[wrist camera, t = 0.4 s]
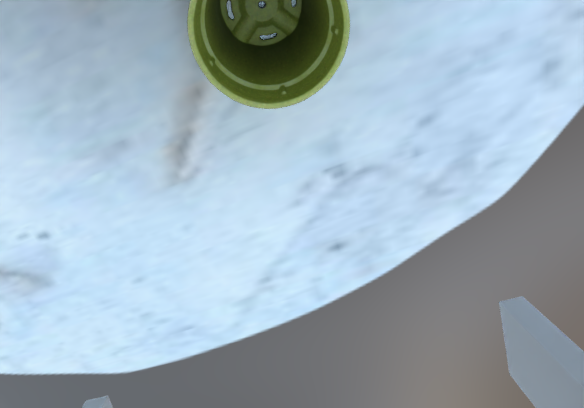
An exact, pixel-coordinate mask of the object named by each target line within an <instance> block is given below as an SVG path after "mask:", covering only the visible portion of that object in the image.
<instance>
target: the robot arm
mask: <svg viewBox="0 0 584 408" xmlns="http://www.w3.org/2000/svg"><path fill="white" fill-rule="evenodd" d="M499 305H500V312H501V319H502V326H503V333H504V339H505V347H506V353H507V361H508V367H509V374H510V375H511V377H512V378H513V379H514V380H515V382H516V383H517V384H518V386H519V387H520V388H521V389H522V391H523V392H524V393H525V395H526V396H527V397H528V398H529V400H530V401H531V402H532V403H533V405H534V406H535V407H536V408H584V351H583V350H582V349H580V348H579V347H578V346H577V345H576V344H575V343H574V342H573V341H572V340H570V339H569V338H568V337H567V336H566V335H565V334H564V333H563V332H562V331H560V330H559V329H558V328H557V327H556V326H555V325H554V324H553V323H551V322H550V321H549V320H548V319H547V318H546V317H545V316H544V315H542V313H540V312H539V311H538V310H537V309H536V308H535V307H534V306H533V305H532V304H530V303H529V302H528V301H527V300H526V299H525V298H524V297H523V296H521V297H517V298H513V299H509V300H505V301H501V302H499ZM82 408H113V406H112V404H111V402H110V399H109V397H108V396H104V397H100V398H96V399H91V400H87V401H85V403H84V405H83V406H82Z"/></svg>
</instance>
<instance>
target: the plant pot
mask: <svg viewBox="0 0 584 408" xmlns="http://www.w3.org/2000/svg"><path fill="white" fill-rule="evenodd" d="M227 1H228V0H190V3H189V9H188V18H187V26H188V36H189V41H190V45H191V49H192V52H193V54H194V57H195V59H196V61H197V63H198V65H199V67H200V69H201V70H202V72H203V73H204V75H205V76H206V77H207V79H208V80H209V81H210V82H211V83H212V84H213V85H214V86H215V87H216V88H217V89H218V90H219V91H221V92H222V93H223V94H225V95H226V96H228V97H229V98H230V99H232V100H234V101H237V102H239V103H241V104H244V105H247V106H251V107H256V108H264V109H276V108H282V107H287V106H290V105H294V104H297V103H299V102H301V101H304V100H305V99H307V98H309V97H311V96H312V95H314V94H315V93H316V92H318V91H319V90H320V89H321V88H322V87H323V86H324V85H325V84H326V83H327V82H328V81H329V80H330V79H331V78H332V76H333V75H334V73H335V72H336V70H337V69H338V67H339V65H340V64H341V62H342V59H343V57H344V55H345V52H346V48H347V44H348V39H349V30H350V18H349V10H348V5H347V1H346V0H296V6H295V7H292V5H291V4H292V2H291V0H230V1H231V8H232V12H233V15H234V20H232V19H230V18H229V16H228V12H227V7H226V4H227ZM260 1H264V2H265V4H266V6H265V7H264V8H259V6H258V4H259V2H260ZM273 33H277V35H276V37H274V38H271V39H268V40H262V39H260V36H261V35H270V34H273Z"/></svg>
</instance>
